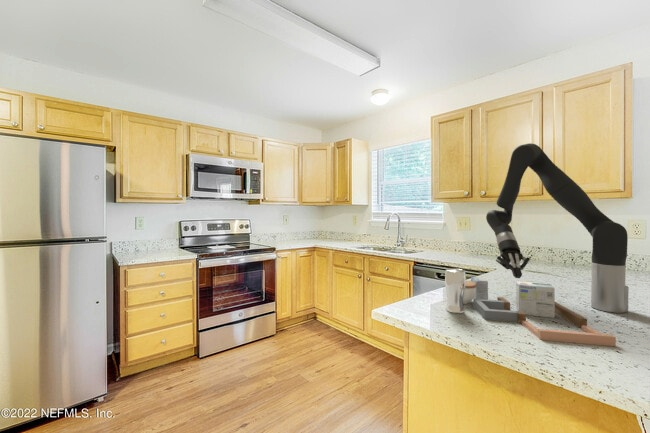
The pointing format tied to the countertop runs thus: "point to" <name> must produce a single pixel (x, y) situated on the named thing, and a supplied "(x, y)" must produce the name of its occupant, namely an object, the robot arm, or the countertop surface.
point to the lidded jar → (469, 292)
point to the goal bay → (573, 335)
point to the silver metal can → (455, 289)
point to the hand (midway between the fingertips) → (518, 277)
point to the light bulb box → (535, 299)
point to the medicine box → (480, 288)
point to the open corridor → (559, 310)
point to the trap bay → (494, 310)
